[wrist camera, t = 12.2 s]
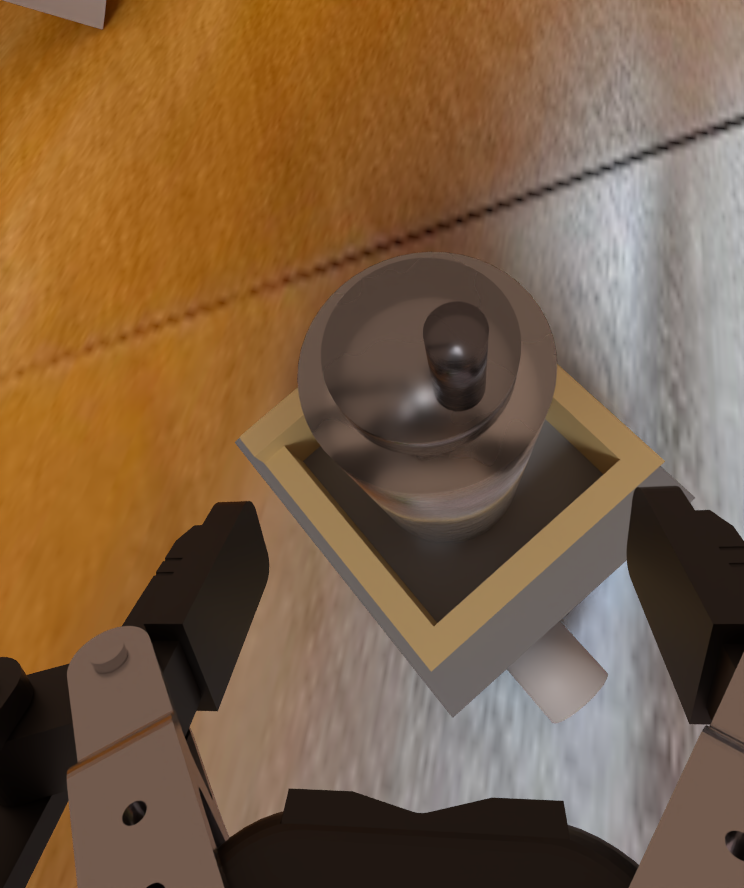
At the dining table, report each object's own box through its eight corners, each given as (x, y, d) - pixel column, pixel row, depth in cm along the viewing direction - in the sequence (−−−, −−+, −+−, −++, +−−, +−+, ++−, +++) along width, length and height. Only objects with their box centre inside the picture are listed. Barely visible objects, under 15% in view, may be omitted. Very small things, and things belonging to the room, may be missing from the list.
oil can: (349, 468, 23) (175, 285, 10) (450, 380, 24) (420, 81, 10) (439, 573, 22) (384, 532, 8) (547, 477, 22) (673, 277, 8)
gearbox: (285, 475, 31) (197, 417, 21) (447, 335, 32) (436, 215, 22) (501, 743, 26) (520, 833, 16) (690, 570, 27) (823, 552, 17)
